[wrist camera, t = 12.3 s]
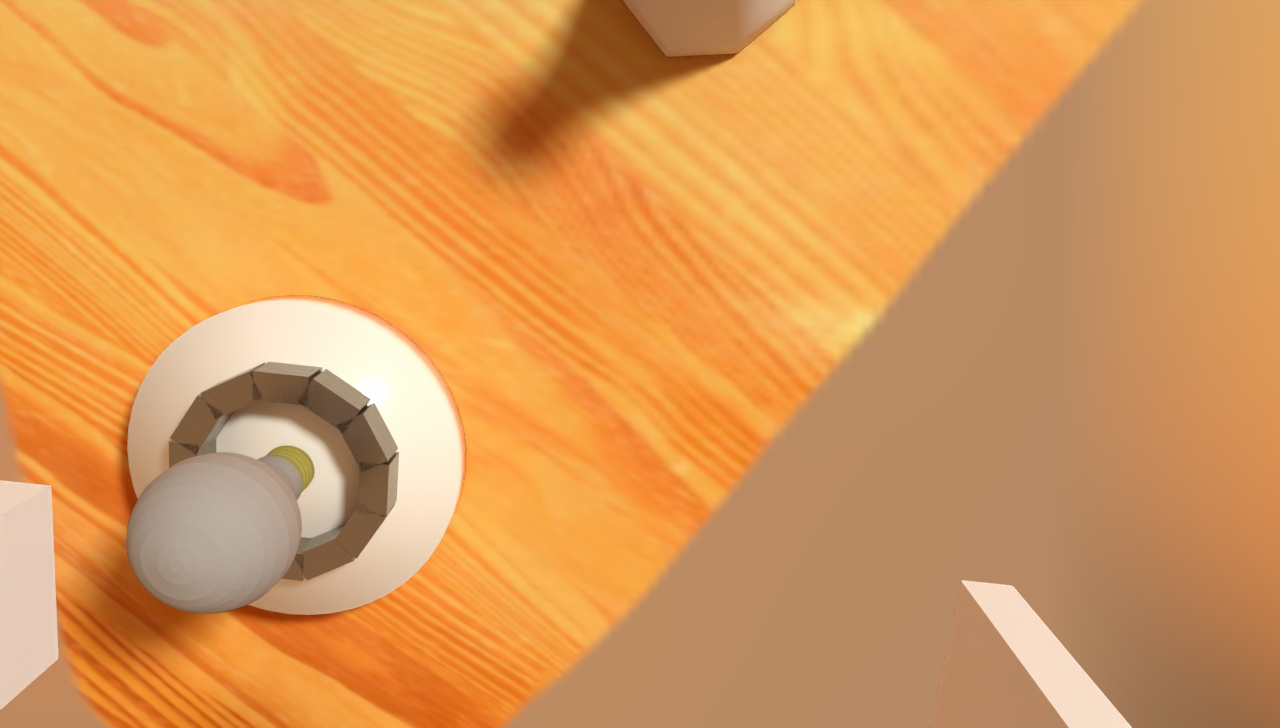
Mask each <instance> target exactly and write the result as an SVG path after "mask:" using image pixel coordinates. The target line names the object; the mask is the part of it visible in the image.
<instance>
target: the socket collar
mask: <svg viewBox="0 0 1280 728" xmlns="http://www.w3.org/2000/svg"><path fill="white" fill-rule="evenodd" d="M370 400H371V399H370V398H369V397H367V396H366V395H364V394H363V393H361V392H360V391H358V390H357V389H355V388H354V387H353V386H351V385H350V384H348V383H347V382H345V381H344V380H342V379H341V378H339V377H338V376H336V375H335V374H333V373H332V372H330V371H329V370H327V369H326V370H324V371H323V372H322V367H314V366H305V365H296V364H287V363H277V362H267V363H266V364H265V362H264V363H262V364H260V365H257V366H255V367H253V368H251V369H248V370H246V371H244V372H242V373H239V374H237V375H235V376H233V377H230V378H228V379H226V380H224V381H221V382H219V383H217V384H215V385H214V386H212V387H210V388H208V389H207V390H205V391H203V392H201V394H199V395H198V396H197V397H196V398H195V400H194V401H193V403H192V404H191V406H190V408H189V409H188V411H187V412H186V414H185V415H184V417H183V418H182V420H181V421H180V423H179V425H178V426H177V428H176V429H175V431H174V432H173V434H172V435H171V437H170V438H171V439H172V440H171V441H169V468H170V467H171V466H173V465H175V464H176V463H178V462H180V461H183V460H185V459H188V458H191V457H195V456H199V455H204V454H209V453H216V438H217V436H218V435H219V433H220V432H221V430H222V429H223V427H224V426H225V424H226V423H227V421H228V420H229V418H230V417H231V415H232V414H233V412H234V411H236V410H238V409H240V408H243V407H245V406H247V405H249V404H252V403H254V402H256V401H267V402H277V403H286V404H296V405H303V406H304V407H306V408H307V409H309V410H310V411H312V412H313V413H315V414H316V415H318V416H319V417H321V418H322V419H324V420H325V421H327V422H328V423H330V424H331V425H333V426H334V427H336V428H337V429H339V431H340V432H341V434H342V436H343V438H344V440H345V442H346V444H347V445H348V447H349V449H350V451H351V453H352V455H353V457H354V458H355V460H356V462H357V464H358V466H359V487H358V507H357V509H356V510H355V512H354V513H353V514H352V516H351V517H350V519H349V520H348V521H347V523H346V524H344V525H342V526H339V527H337V528H335V529H332V530H330V531H328V532H325V533H323V534H320V535H318V536H316V537H313V538H305V537H301V539H300V543H299V546H298V549H297V552H296V555H295V557H294V560H293V562H292V564H291V566H290V568H289V569H288V571H287V572H286V574H285V575H284V576H283V577H282V578H281V579H288V580H297V581H303V580H304V579H305V578H306V579H307V580H310V579H312V578H314V577H317V576H319V575H322V574H324V573H326V572H329V571H331V570H334V569H336V568H338V567H341V566H343V565H346V564H348V563H350V562H353V561H354V560H355V558H356V559H357V558H358V556H359V555H360V554H361V552H362V551H363V549H364V548H365V547H366V545H367V544H368V542H369V541H370V540H371V538H372V537H373V535H374V534H375V533H376V531H377V530H378V529H379V527H380V526H381V524H382V523H383V522H384V520H385V519H386V517H387V516H388V514H389V513H390V511H391V510H392V509H393V507H394V506H395V502H396V501H397V485H398V466H399V452H396V451H397V449H398V447H397V445H396V443H395V441H394V439H393V437H392V435H391V433H390V431H389V430H388V428H387V426H386V424H385V422H384V420H383V418H382V416H381V414H380V412H379V411H378V409H377V407H376V405H375V403H372V404H370V405H368V403H369V402H370Z"/></svg>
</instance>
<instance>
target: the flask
mask: <svg viewBox="0 0 1280 728" xmlns="http://www.w3.org/2000/svg"><path fill="white" fill-rule="evenodd" d="M622 1H623V2H624V3H625V5H626V6H627V7H628V8H629V10H630V11H631V12H632V13H633V15H634V16H635V17H636V19H637V20H638V21H639V22H640V24H641V25H642V26H643V28H644V29H645V30H646V31H647V33H648V34H649V35H650V36H651V38H652V39H653V40H654V42H655V43H656V44H657V45H658V47H659V48H660V49H661V51H662V52H663V53H664V54H665V56H666V57H676V56H695V55H715V54H734V53H739V52H740V51H741V50H742V49H744V48H745V47H746V46H747V45H748V44H749V43H751V42H752V41H753V40H754V39H755V38H756V37H758V36H759V35H760V34H761V33H762V32H763V31H765V30H766V29H767V28H768V27H769V26H770V25H772V24H773V23H774V22H775V21H776V20H777V19H779V18H780V17H781V16H782V15H783V14H784V13H786V12H787V11H788V10H789V9H790V8H792V7H793V6H794V5H795V0H622Z"/></svg>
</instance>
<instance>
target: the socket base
mask: <svg viewBox="0 0 1280 728" xmlns="http://www.w3.org/2000/svg"><path fill="white" fill-rule="evenodd" d="M264 362H265V364H266V363H267V362H277V363H287V364H296V365H305V366H314V367H322V372H323V371H324V370H326V369H327V370H329V371H330V372H332V373H333V374H335V375H336V376H338V377H339V378H341V379H342V380H344V381H345V382H347V383H348V384H350V385H351V386H353V387H354V388H355V389H357V390H358V391H360V392H361V393H363V394H364V395H366V396H367V397H369V398H370V399H371V400H370V402H369V403H368V405H370V404H372V403H375V405H376V407H377V409H378V411H379V412H380V414H381V416H382V418H383V420H384V422H385V424H386V426H387V428H388V430H389V431H390V433H391V435H392V437H393V439H394V441H395V443H396V445H397V447H398V449H397V451H396V452H399V466H398V485H397V501H396V502H395V506H394V507H393V509H392V510H391V511H390V513H389V514H388V516H387V517H386V519H385V520H384V522H383V523H382V524H381V526H380V527H379V529H378V530H377V531H376V533H375V534H374V535H373V537H372V538H371V540H370V541H369V542H368V544H367V545H366V547H365V548H364V549H363V551H362V552H361V554H360V555H359V556H358V558H357V559H356V558H355V560H354V561H353V562H350V563H348V564H346V565H343V566H341V567H338V568H336V569H334V570H331V571H329V572H326V573H324V574H322V575H319V576H317V577H314V578H312V579H310V580H307V579H306V578H305V579H304V580H303V581H297V580H288V579H280V581H279V582H278V583H277V584H276V585H275V586H274V587H273V588H272V589H271V590H270V591H269V592H268V593H266V594H265V595H264V596H263V597H261V598H260V599H258V600H256V601H254V602H252V603H250V604H248V605H250V606H254V607H257V608H261V609H264V610H268V611H273V612H279V613H286V614H298V615H317V614H330V613H335V612H340V611H345V610H350V609H353V608H356V607H359V606H362V605H365V604H368V603H371V602H373V601H375V600H377V599H379V598H381V597H383V596H385V595H387V594H389V593H390V592H392V591H393V590H395V589H396V588H398V587H399V586H401V585H402V584H404V583H405V582H406V581H407V580H408V579H409V578H411V577H412V576H413V575H414V574H415V573H416V572H417V571H418V570H419V569H420V568H421V567H422V566H423V565H424V563H425V562H426V561H427V560H428V559H429V558H430V556H431V555H432V553H433V552H434V550H435V549H436V547H437V546H438V544H439V542H440V541H441V539H442V537H443V535H444V533H445V531H446V529H447V527H448V525H449V523H450V521H451V519H452V517H453V515H454V513H455V510H456V508H457V506H458V504H459V500H460V497H461V493H462V490H463V486H464V480H465V473H466V440H465V433H464V427H463V423H462V420H461V416H460V412H459V409H458V406H457V404H456V402H455V399H454V397H453V395H452V392H451V390H450V388H449V386H448V385H447V383H446V381H445V380H444V378H443V376H442V374H441V373H440V371H439V370H438V369H437V367H436V366H435V365H434V363H433V362H432V361H431V359H430V358H429V357H428V356H427V354H426V353H425V352H424V351H423V350H422V349H421V348H420V347H419V346H418V345H417V344H416V343H415V342H414V341H413V340H412V339H410V338H409V337H408V336H407V335H405V334H404V333H403V332H401V331H400V330H399V329H398V328H396V327H395V326H394V325H392V324H390V323H389V322H387V321H385V320H384V319H382V318H380V317H379V316H377V315H375V314H373V313H371V312H368V311H366V310H364V309H362V308H359V307H357V306H354V305H351V304H348V303H345V302H341V301H338V300H334V299H328V298H323V297H317V296H303V295H287V296H276V297H269V298H264V299H260V300H255V301H251V302H248V303H245V304H243V305H240V306H237V307H235V308H232V309H230V310H227V311H225V312H222V313H220V314H217V315H215V316H212V317H210V318H208V319H206V320H204V321H203V322H201V323H199V324H197V325H195V326H193V327H192V328H190V329H189V330H188V331H186V332H185V333H183V334H182V335H181V336H179V337H178V338H177V339H175V340H174V341H173V342H172V343H171V344H170V345H169V346H168V347H167V348H166V349H165V350H164V351H163V352H162V353H161V354H160V356H159V357H158V358H157V360H156V361H155V363H154V364H153V365H152V367H151V368H150V369H149V371H148V373H147V374H146V376H145V378H144V380H143V382H142V384H141V386H140V388H139V390H138V393H137V396H136V398H135V401H134V404H133V407H132V411H131V417H130V422H129V427H128V444H127V450H128V461H129V470H130V474H131V479H132V483H133V488H134V491H135V493H136V496H137V499H138V498H139V497H140V495H141V493H142V492H143V491H144V489H145V488H146V487H147V486H148V484H149V483H150V482H151V481H153V480H154V479H155V478H156V477H157V476H159V475H160V474H162V473H163V472H164V471H166V470H167V469H169V441H171V440H172V439H171V438H170V437H171V435H172V434H173V432H174V431H175V429H176V428H177V426H178V425H179V423H180V421H181V420H182V418H183V417H184V415H185V414H186V412H187V411H188V409H189V408H190V406H191V404H192V403H193V401H194V400H195V398H196V397H197V396H198V395H199V394H201V392H203V391H205V390H207V389H208V388H210V387H212V386H214V385H215V384H217V383H219V382H221V381H224V380H226V379H228V378H230V377H233V376H235V375H237V374H239V373H242V372H244V371H246V370H248V369H251V368H253V367H255V366H257V365H260V364H262V363H264ZM284 445H287V446H294V447H297V448H299V449H301V450H303V451H304V452H306V453H307V454H308V455H309V457H310V458H311V460H312V462H313V465H314V472H315V473H314V477H313V480H312V481H311V483H310V484H309V485H308V487H307V488H306V489H304V490H303V492H301V495H300V497H299V499H298V500H297V502H298V506H299V509H300V514H301V520H302V533H301V537H305V538H313V537H316V536H318V535H320V534H323V533H325V532H328V531H330V530H332V529H335V528H337V527H339V526H342V525H344V524H346V523H347V521H348V520H349V519H350V517H351V516H352V514H353V513H354V512H355V510H356V509H357V507H358V487H359V466H358V464H357V462H356V460H355V458H354V457H353V455H352V453H351V451H350V449H349V447H348V445H347V444H346V442H345V440H344V438H343V436H342V434H341V432H340V431H339V429H337V428H336V427H334V426H333V425H331V424H330V423H328V422H327V421H325V420H324V419H322V418H321V417H319V416H318V415H316V414H315V413H313V412H312V411H310V410H309V409H307V408H306V407H304V406H303V405H296V404H286V403H277V402H267V401H256V402H254V403H252V404H249V405H247V406H245V407H243V408H240V409H238V410H236V411H234V412H233V414H232V415H231V417H230V418H229V420H228V421H227V423H226V424H225V426H224V427H223V429H222V430H221V432H220V433H219V435H218V436H217V438H216V452H229V453H237V454H242V455H245V456H248V457H251V458H254V459H259V458H261V457H265V456H266V455H267V454H268V453H269V452H270V451H271V450H273V449H274V448H276V447H279V446H284Z"/></svg>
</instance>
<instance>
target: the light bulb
mask: <svg viewBox="0 0 1280 728" xmlns="http://www.w3.org/2000/svg"><path fill="white" fill-rule="evenodd" d="M314 473H315V472H314V465H313V462H312V460H311V458H310V457H309V455H308V454H307V453H306V452H304V451H303V450H301V449H299V448H297V447H294V446H287V445H284V446H279V447H276V448H274V449H273V450H271V451H270V452H269V453H268V454H267V455H266V456H265V457H261V458H259V459H254V458H251V457H248V456H245V455H242V454H237V453H229V452H216V453H209V454H204V455H199V456H195V457H191V458H188V459H185V460H183V461H180V462H178V463H176V464H175V465H173V466H171V467H170V468H169V469H167V470H166V471H164V472H163V473H162V474H160V475H159V476H157V477H156V478H155V479H154V480H153V481H151V482H150V483H149V484H148V486H147V487H146V488H145V489H144V491H143V492H142V493H141V495H140V497H139V498H138V500H137V502H136V504H135V506H134V508H133V511H132V513H131V515H130V519H129V522H128V528H127V538H126V548H127V554H128V558H129V562H130V565H131V567H132V569H133V571H134V573H135V575H136V577H137V578H138V580H139V581H140V583H141V584H142V585H143V586H144V587H145V589H146V590H147V591H149V592H150V593H151V594H152V595H153V596H154V597H155V598H157V599H158V600H160V601H161V602H163V603H165V604H166V605H168V606H171V607H173V608H175V609H178V610H181V611H185V612H190V613H197V614H212V613H222V612H227V611H231V610H234V609H237V608H240V607H243V606H245V605H248V604H250V603H252V602H254V601H256V600H258V599H260V598H261V597H263V596H264V595H265V594H266V593H268V592H269V591H270V590H271V589H272V588H273V587H274V586H275V585H276V584H277V583H278V582H279V581H280V579H281V578H282V577H283V576H284V575H285V574H286V572H287V571H288V569H289V568H290V566H291V564H292V562H293V560H294V557H295V555H296V552H297V549H298V546H299V543H300V539H301V533H302V520H301V514H300V509H299V506H298V502H297V500H298V499H299V497H300V495H301V492H303V490H304V489H306V488H307V487H308V485H309V484H310V483H311V481H312V480H313V477H314Z"/></svg>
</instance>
